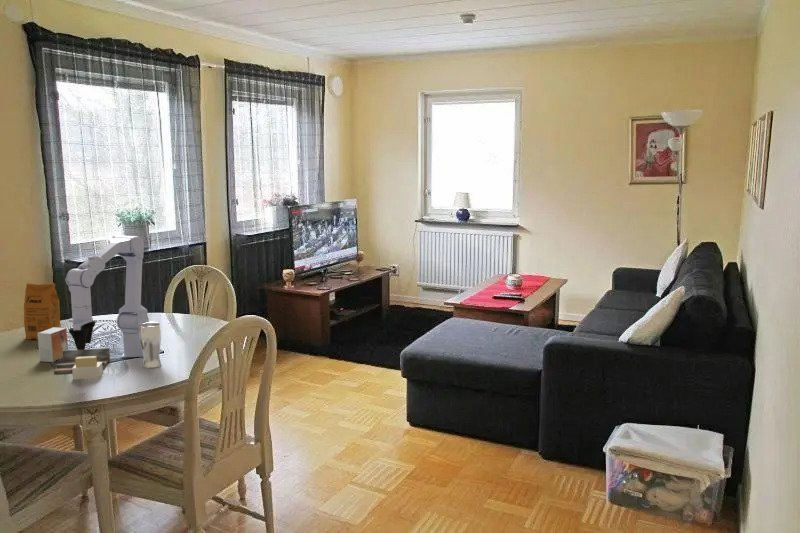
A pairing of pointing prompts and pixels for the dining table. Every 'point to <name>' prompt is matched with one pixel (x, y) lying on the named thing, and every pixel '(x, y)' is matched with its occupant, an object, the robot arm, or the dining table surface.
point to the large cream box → (87, 368)
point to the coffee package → (40, 309)
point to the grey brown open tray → (70, 356)
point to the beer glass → (150, 344)
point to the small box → (52, 344)
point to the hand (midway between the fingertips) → (83, 346)
